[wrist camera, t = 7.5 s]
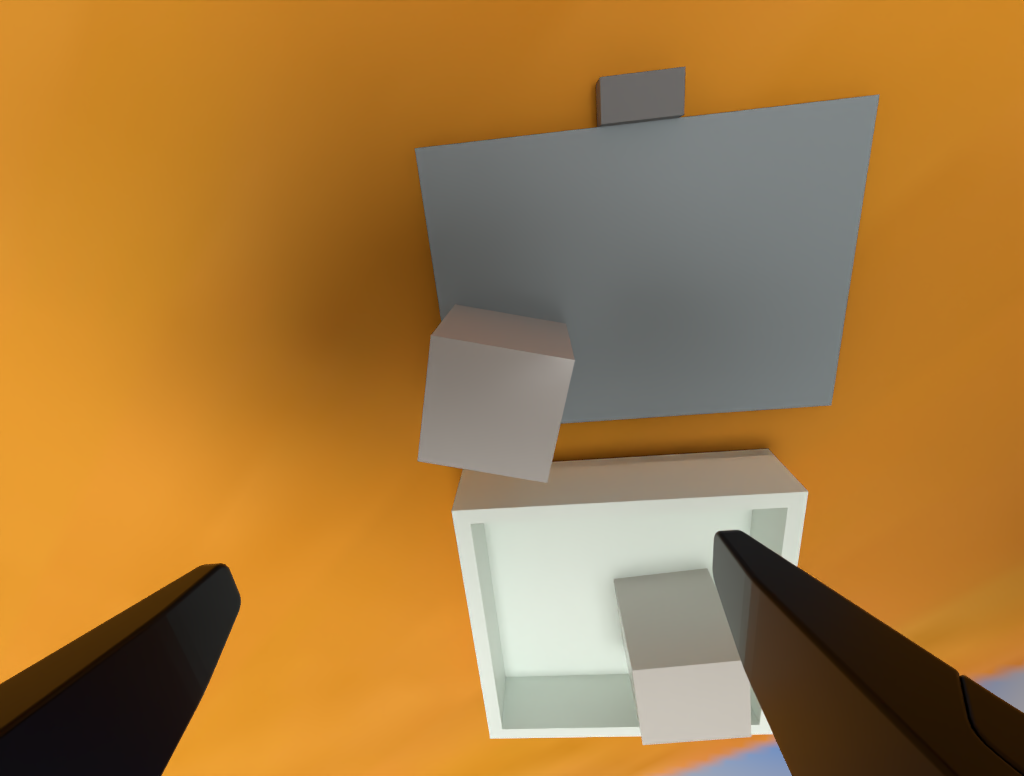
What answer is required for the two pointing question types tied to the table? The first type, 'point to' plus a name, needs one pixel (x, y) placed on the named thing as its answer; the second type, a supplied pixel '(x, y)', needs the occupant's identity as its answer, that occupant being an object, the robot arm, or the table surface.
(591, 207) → the lid board
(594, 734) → the tray
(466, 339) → the grey cube
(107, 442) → the table surface
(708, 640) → the light grey cube
